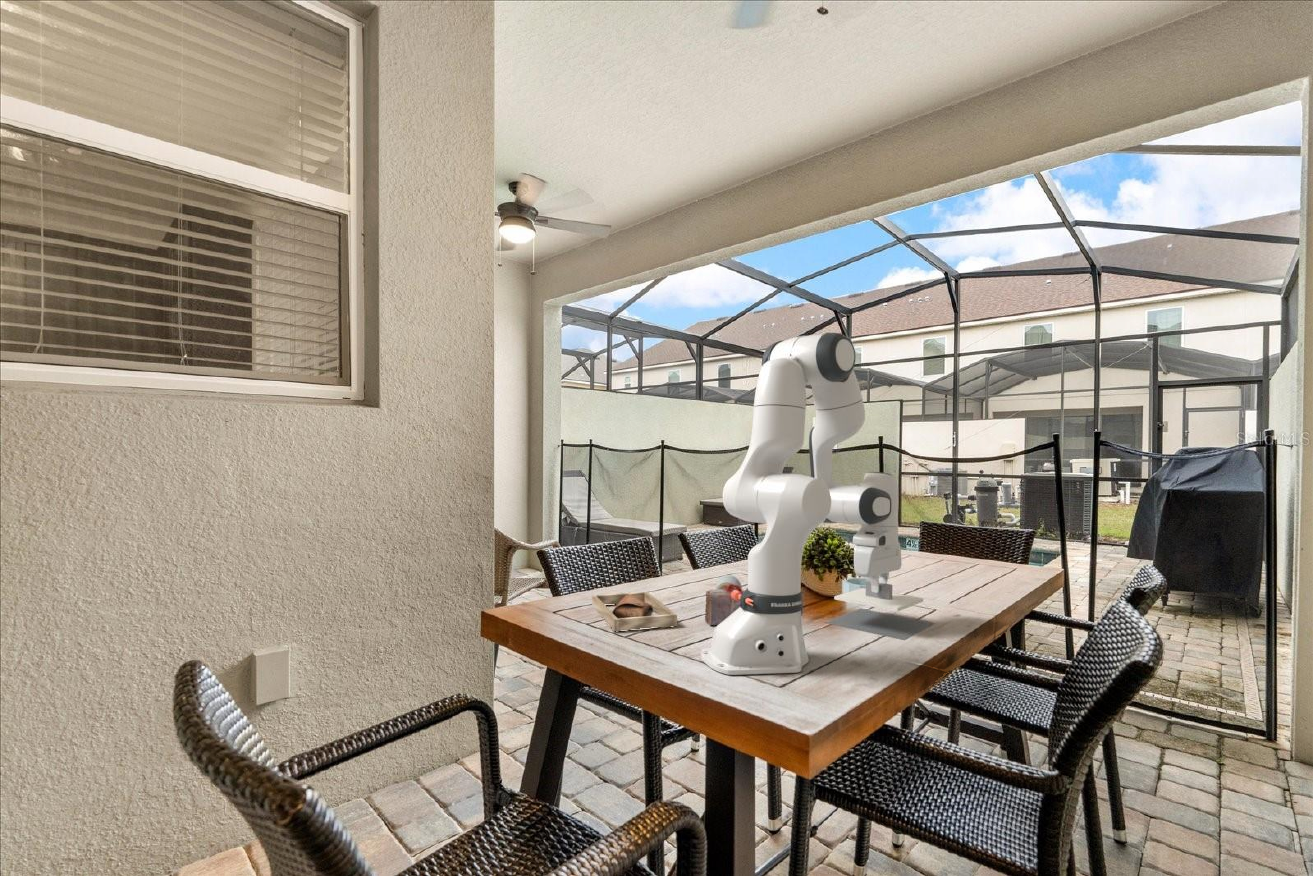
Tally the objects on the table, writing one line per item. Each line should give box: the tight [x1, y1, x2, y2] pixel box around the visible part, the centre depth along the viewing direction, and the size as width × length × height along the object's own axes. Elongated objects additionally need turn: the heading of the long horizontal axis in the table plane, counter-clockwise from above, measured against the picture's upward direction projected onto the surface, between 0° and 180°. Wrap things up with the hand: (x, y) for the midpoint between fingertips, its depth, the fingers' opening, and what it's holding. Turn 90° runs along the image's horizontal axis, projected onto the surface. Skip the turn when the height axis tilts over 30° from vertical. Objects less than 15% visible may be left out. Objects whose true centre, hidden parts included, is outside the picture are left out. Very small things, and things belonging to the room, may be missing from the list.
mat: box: [824, 608, 936, 641], centre depth 151 cm, size 20×20×1 cm
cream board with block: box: [833, 581, 924, 613], centre depth 151 cm, size 16×16×4 cm
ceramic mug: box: [714, 574, 743, 590], centre depth 172 cm, size 11×8×8 cm
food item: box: [704, 584, 746, 626], centre depth 152 cm, size 14×8×10 cm, turn 96°
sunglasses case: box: [611, 592, 651, 618], centre depth 158 cm, size 18×7×7 cm
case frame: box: [591, 591, 678, 631], centre depth 158 cm, size 16×26×3 cm, turn 18°
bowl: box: [841, 577, 870, 607], centre depth 175 cm, size 12×12×6 cm
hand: (878, 591), depth 151 cm, fingers closed on cream board with block, 2 cm apart
